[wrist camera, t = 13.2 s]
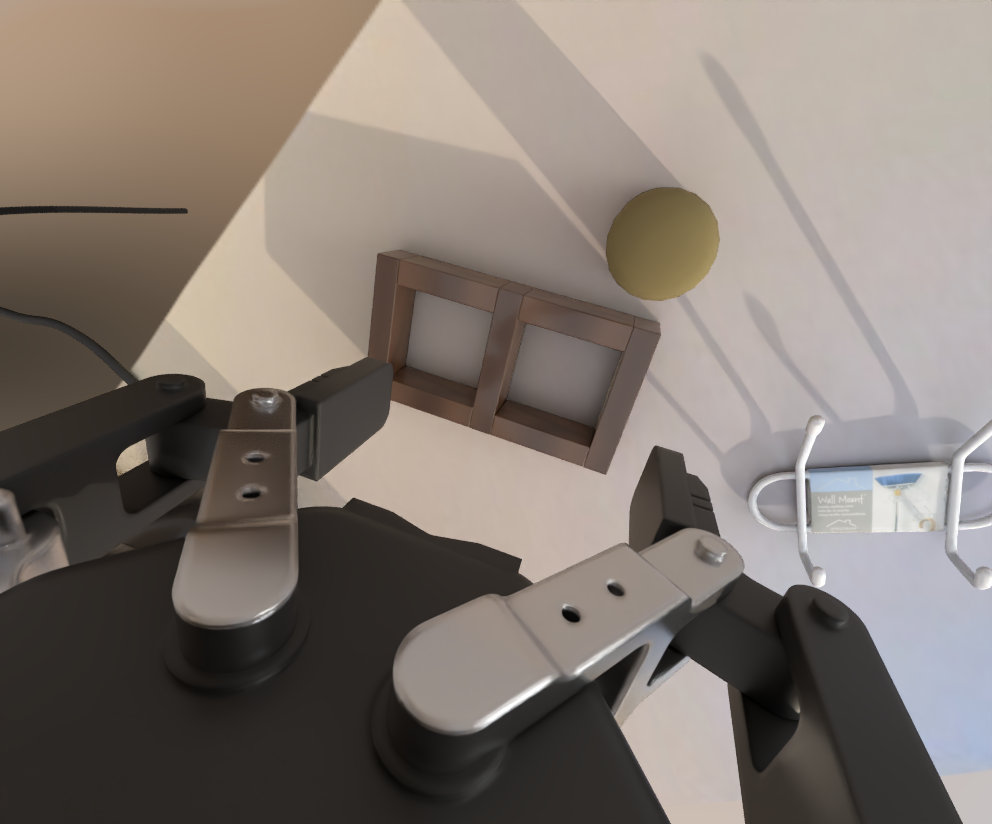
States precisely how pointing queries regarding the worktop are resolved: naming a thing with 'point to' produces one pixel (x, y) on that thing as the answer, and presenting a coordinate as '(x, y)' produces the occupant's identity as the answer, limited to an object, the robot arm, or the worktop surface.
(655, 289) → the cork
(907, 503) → the wall mount rack
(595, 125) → the worktop surface
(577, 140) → the worktop surface
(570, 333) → the stand
